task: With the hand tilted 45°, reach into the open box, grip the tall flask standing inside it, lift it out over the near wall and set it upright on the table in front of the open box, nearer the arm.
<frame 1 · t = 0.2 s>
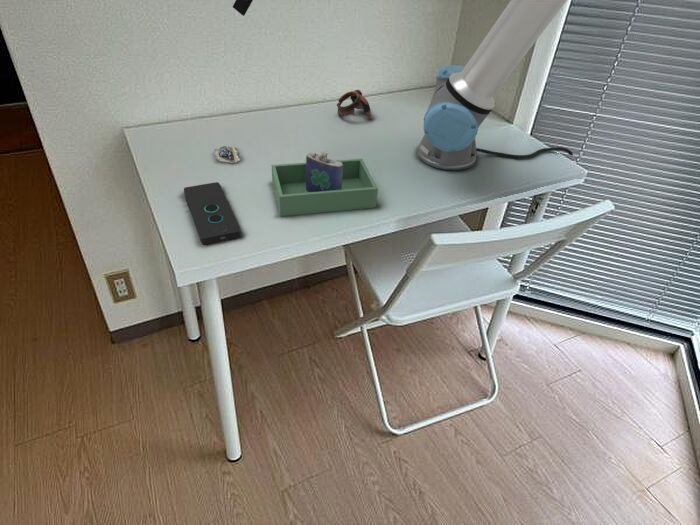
hand: (250, 3, 111), 35 cm above the table, tool tilted 35°, fingers open, 13 cm apart
open box: (323, 195, 118), on the table
brown looped sculpture: (354, 116, 152), on the table
flask: (323, 194, 118), touching open box
geode half: (228, 156, 129), on the table
smart home device: (211, 215, 110), on the table
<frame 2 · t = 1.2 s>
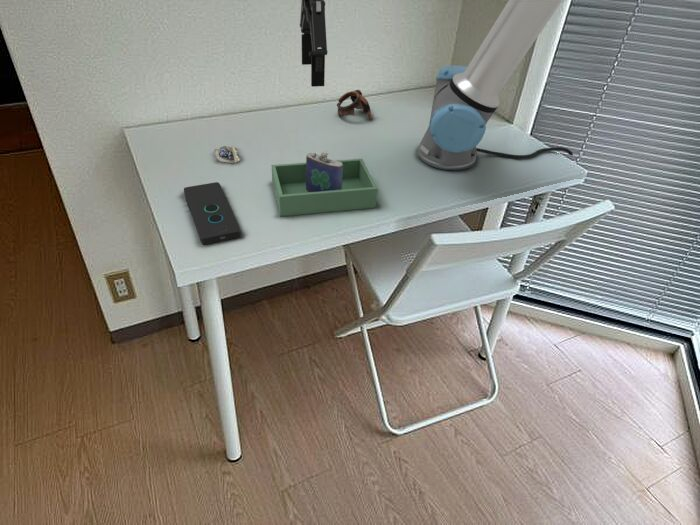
hand: (312, 74, 114), 23 cm above the table, tool pointing down, fingers open, 13 cm apart
nothing on the table moved.
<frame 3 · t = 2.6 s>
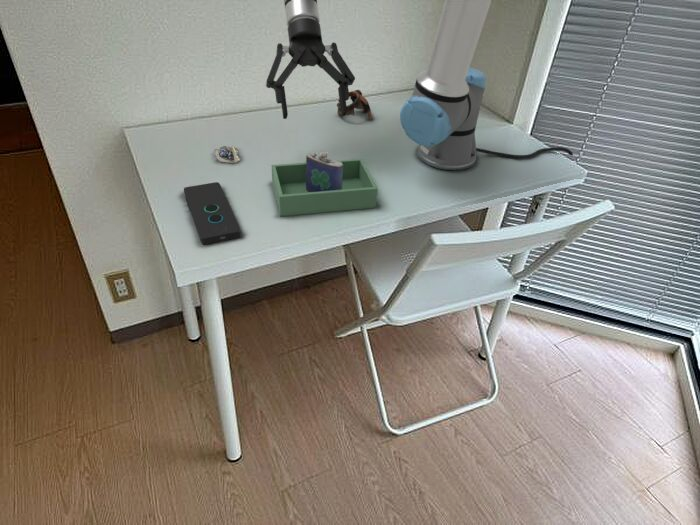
hand: (315, 115, 116), 15 cm above the table, tool tilted 45°, fingers open, 13 cm apart
nothing on the table moved.
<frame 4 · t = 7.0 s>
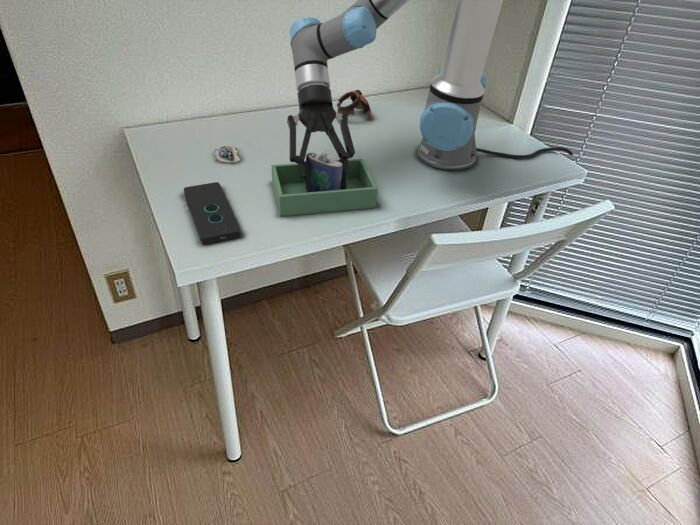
hand: (326, 190, 113), 4 cm above the table, tool tilted 45°, fingers closed on flask, 7 cm apart
flask: (322, 194, 118), touching open box, gripper
everything else where it was.
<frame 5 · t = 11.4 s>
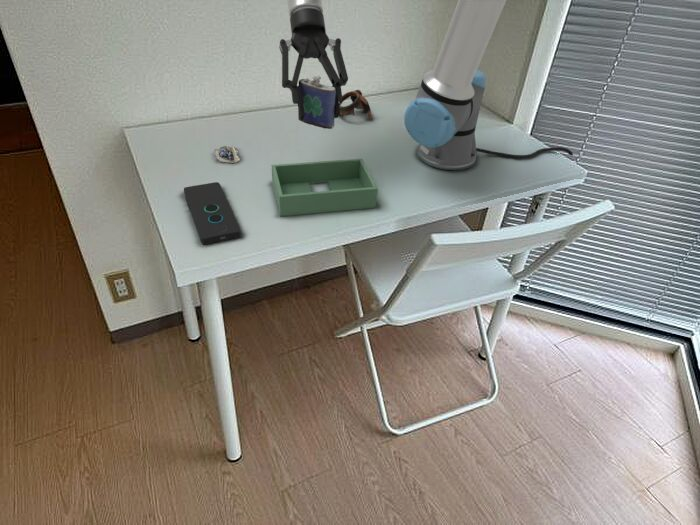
hand: (319, 116, 112), 17 cm above the table, tool tilted 45°, fingers closed on flask, 7 cm apart
flask: (315, 124, 116), point 13 cm above the table, touching gripper
everything else where it was.
when the fingers open (3 cm above the table, at t = 16.2 s): flask stays where it is, on the table.
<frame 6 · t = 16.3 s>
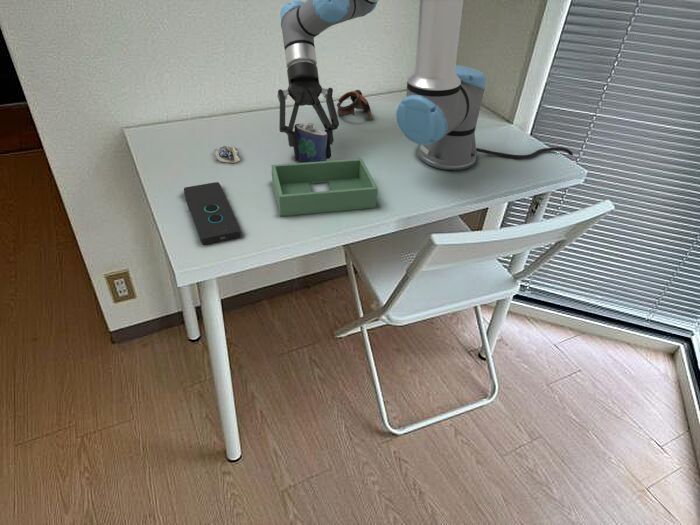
hand: (313, 157, 125), 3 cm above the table, tool tilted 45°, fingers open, 7 cm apart
flask: (309, 162, 129), on the table
everything else where it was.
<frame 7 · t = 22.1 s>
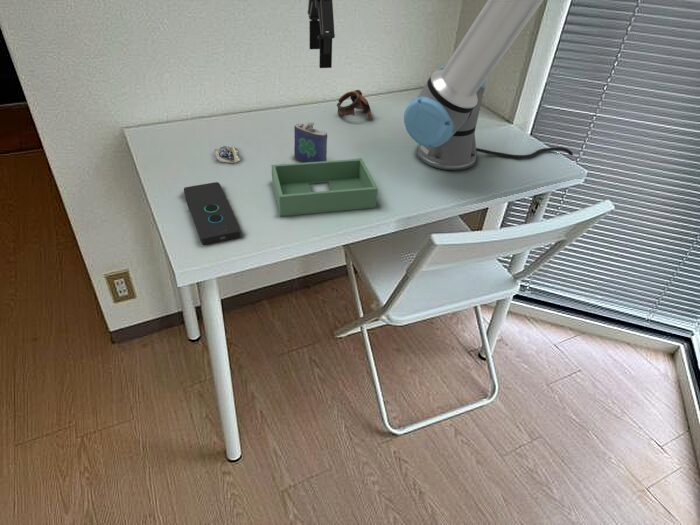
hand: (320, 57, 123), 22 cm above the table, tool pointing down, fingers open, 13 cm apart
nothing on the table moved.
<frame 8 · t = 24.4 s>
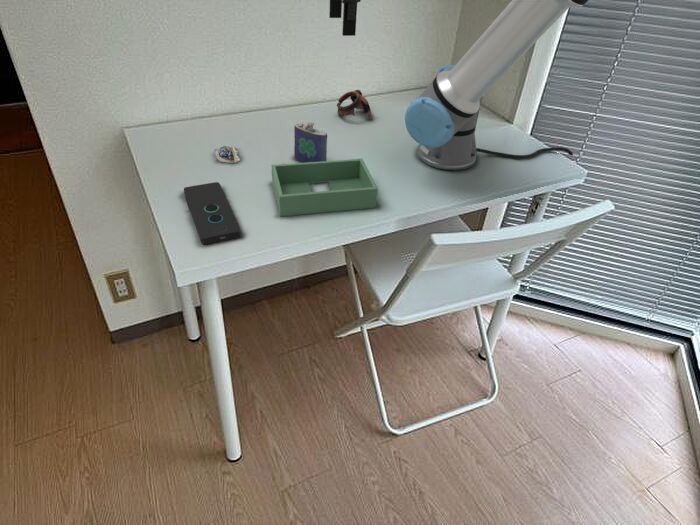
hand: (341, 26, 116), 31 cm above the table, tool pointing down, fingers open, 13 cm apart
nothing on the table moved.
at the end: flask inside the target area (0.2 cm from its centre), on the table; flask tilted 1°; the gripper is holding nothing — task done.
